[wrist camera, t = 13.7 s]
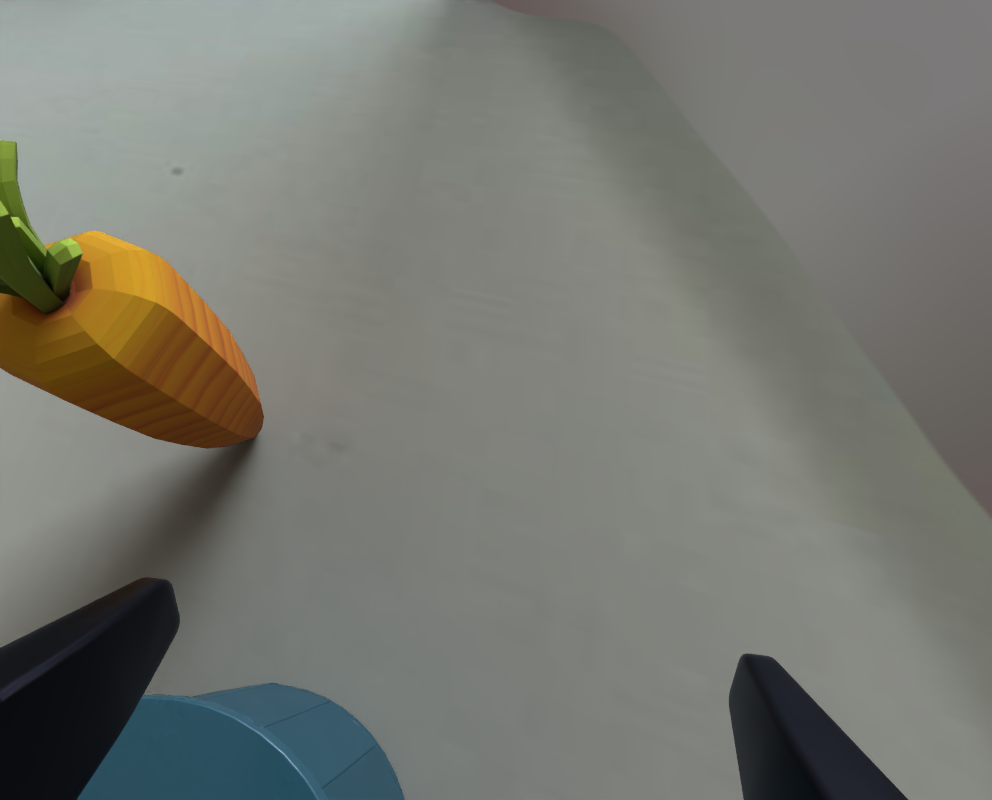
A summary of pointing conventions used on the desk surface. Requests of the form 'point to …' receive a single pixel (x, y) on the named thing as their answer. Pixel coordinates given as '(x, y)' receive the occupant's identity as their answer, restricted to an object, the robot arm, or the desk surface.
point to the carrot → (117, 333)
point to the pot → (318, 739)
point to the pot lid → (198, 757)
